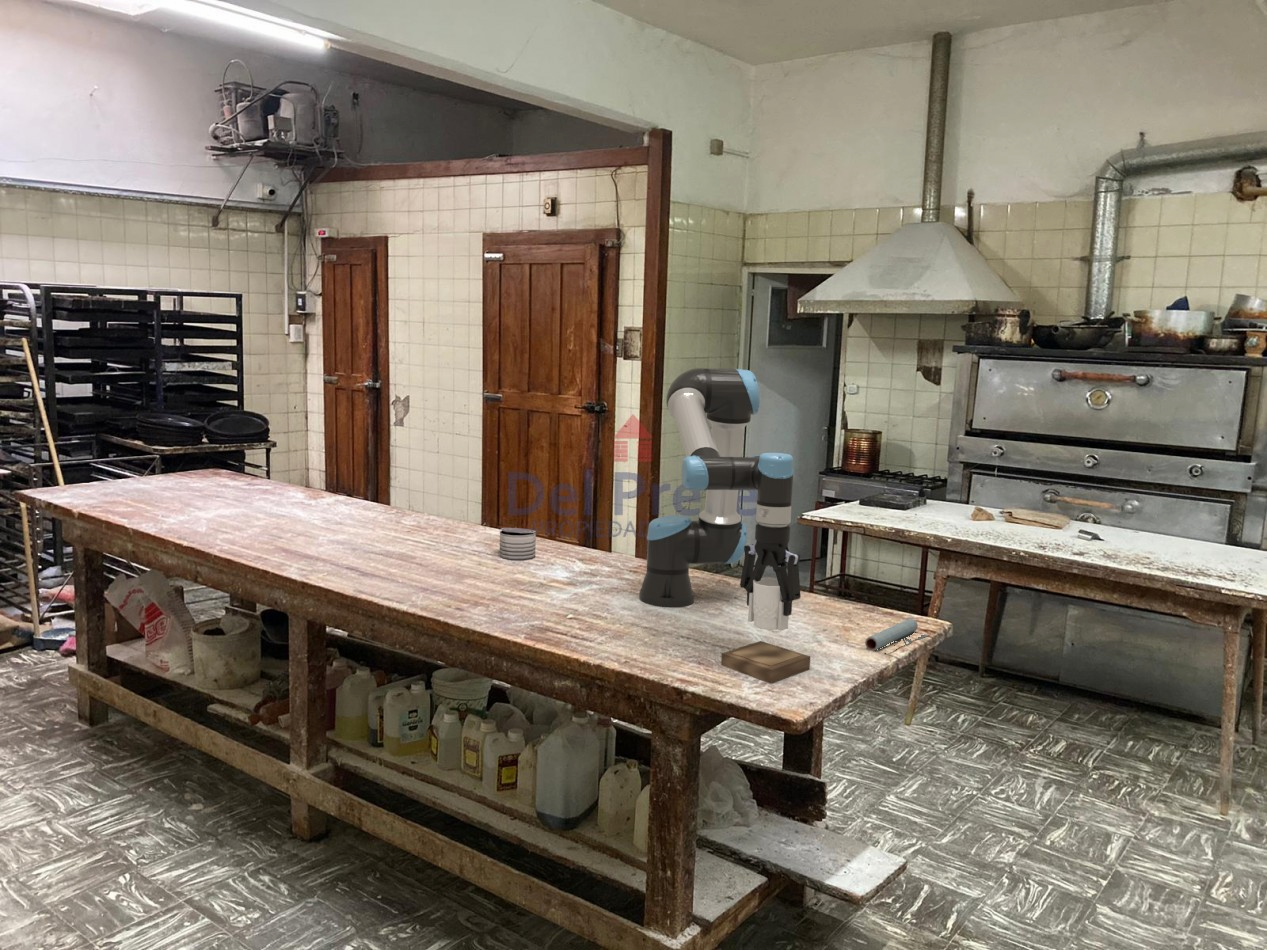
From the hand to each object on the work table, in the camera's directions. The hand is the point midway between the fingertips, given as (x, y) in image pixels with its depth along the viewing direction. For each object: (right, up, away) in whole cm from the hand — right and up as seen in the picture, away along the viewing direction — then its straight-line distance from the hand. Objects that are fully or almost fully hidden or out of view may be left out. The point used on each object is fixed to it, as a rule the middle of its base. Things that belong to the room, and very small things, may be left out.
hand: (767, 624), depth 210 cm
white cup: (0, 0, 0) cm, 1 cm away
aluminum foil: (+36, -9, +25) cm, 44 cm away
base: (0, -10, +1) cm, 10 cm away
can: (-67, +4, +89) cm, 111 cm away
